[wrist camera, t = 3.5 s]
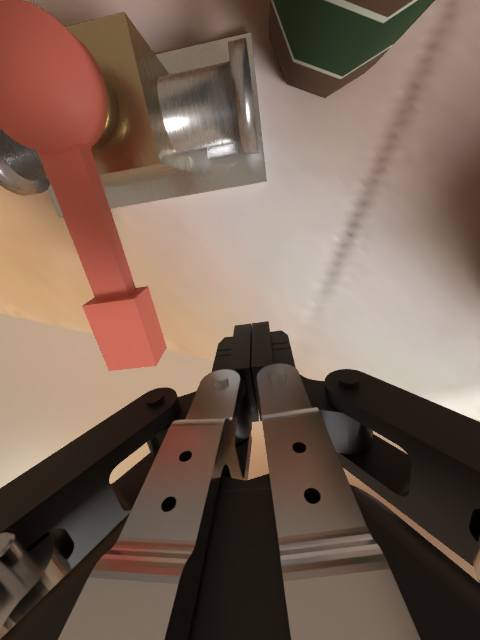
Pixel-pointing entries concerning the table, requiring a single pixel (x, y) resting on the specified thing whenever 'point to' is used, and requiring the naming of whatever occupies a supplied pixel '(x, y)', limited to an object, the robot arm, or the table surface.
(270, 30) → the beer bottle
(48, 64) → the lever
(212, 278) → the table surface
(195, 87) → the valve
